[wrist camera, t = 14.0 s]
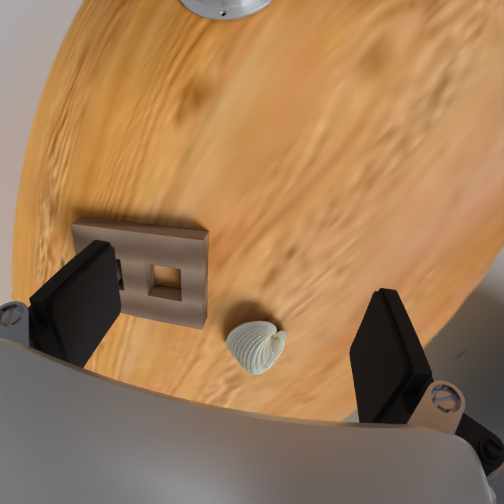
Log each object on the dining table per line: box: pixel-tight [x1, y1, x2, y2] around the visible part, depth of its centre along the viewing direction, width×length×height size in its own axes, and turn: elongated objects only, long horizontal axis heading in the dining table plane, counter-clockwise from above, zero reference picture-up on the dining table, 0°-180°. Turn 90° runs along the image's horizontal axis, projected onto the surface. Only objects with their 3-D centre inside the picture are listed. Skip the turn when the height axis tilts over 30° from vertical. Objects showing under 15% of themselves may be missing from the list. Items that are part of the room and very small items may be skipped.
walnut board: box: [71, 217, 209, 329], centre depth 42 cm, size 14×20×3 cm
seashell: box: [226, 321, 287, 375], centre depth 44 cm, size 8×8×8 cm
